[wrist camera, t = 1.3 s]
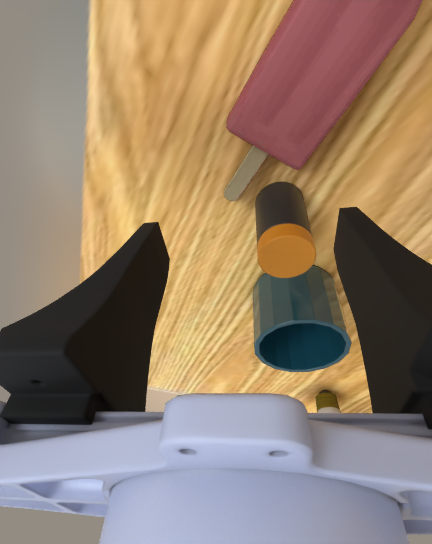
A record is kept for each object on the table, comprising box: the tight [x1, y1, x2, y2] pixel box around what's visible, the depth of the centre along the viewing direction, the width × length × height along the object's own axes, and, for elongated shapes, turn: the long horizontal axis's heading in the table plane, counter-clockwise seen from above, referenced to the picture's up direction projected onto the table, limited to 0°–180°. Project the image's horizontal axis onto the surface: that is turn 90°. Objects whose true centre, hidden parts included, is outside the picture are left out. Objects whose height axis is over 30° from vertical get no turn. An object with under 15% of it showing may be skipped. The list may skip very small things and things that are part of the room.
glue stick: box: [255, 182, 316, 278], centre depth 21 cm, size 3×3×6 cm
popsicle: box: [224, 0, 422, 201], centre depth 18 cm, size 5×2×15 cm
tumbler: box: [253, 265, 352, 372], centre depth 28 cm, size 7×7×6 cm
